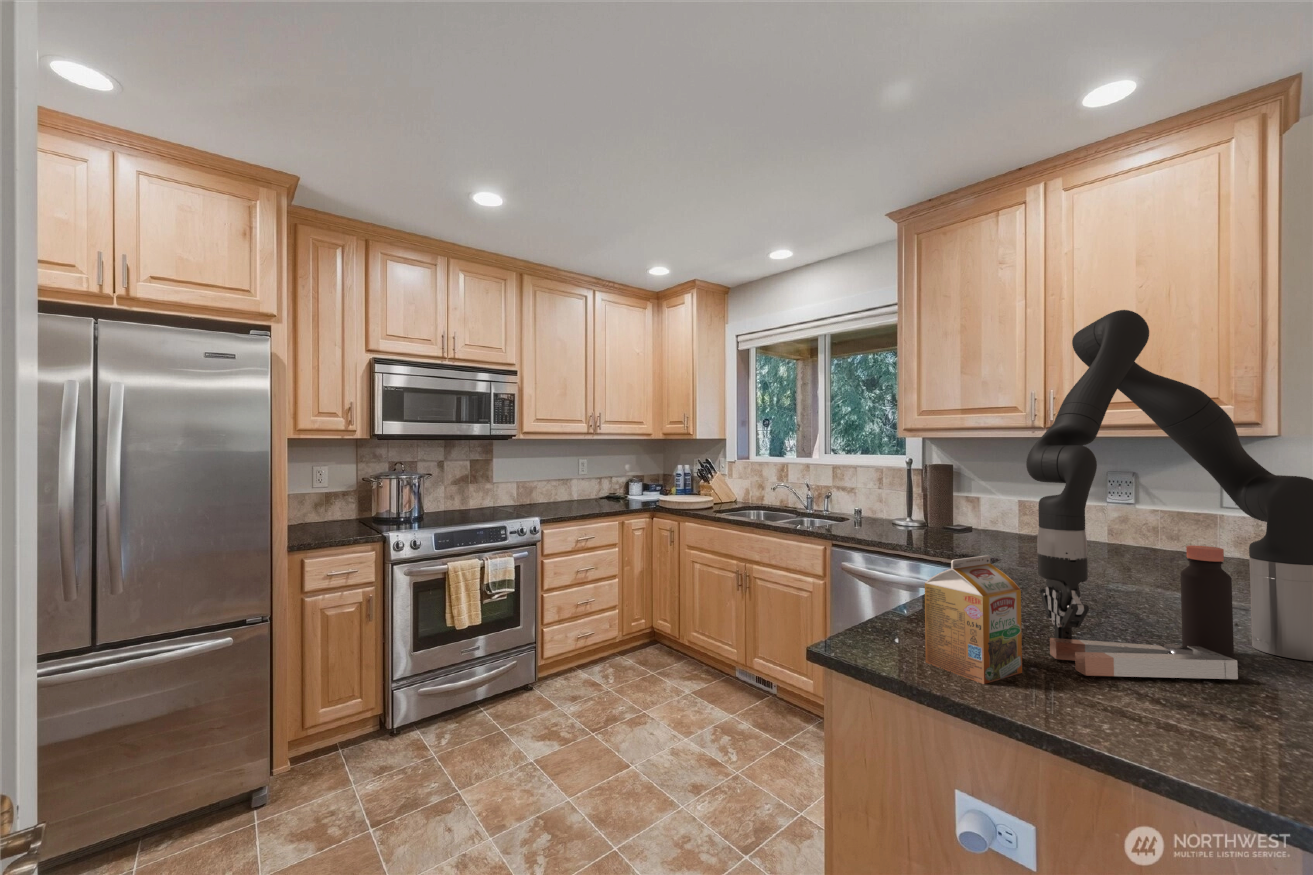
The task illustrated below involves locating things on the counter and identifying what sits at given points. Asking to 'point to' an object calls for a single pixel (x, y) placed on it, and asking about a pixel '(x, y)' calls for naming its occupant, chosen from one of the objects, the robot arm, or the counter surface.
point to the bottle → (1207, 601)
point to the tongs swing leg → (1109, 648)
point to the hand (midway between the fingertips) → (1063, 646)
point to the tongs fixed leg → (1158, 664)
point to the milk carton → (974, 621)
